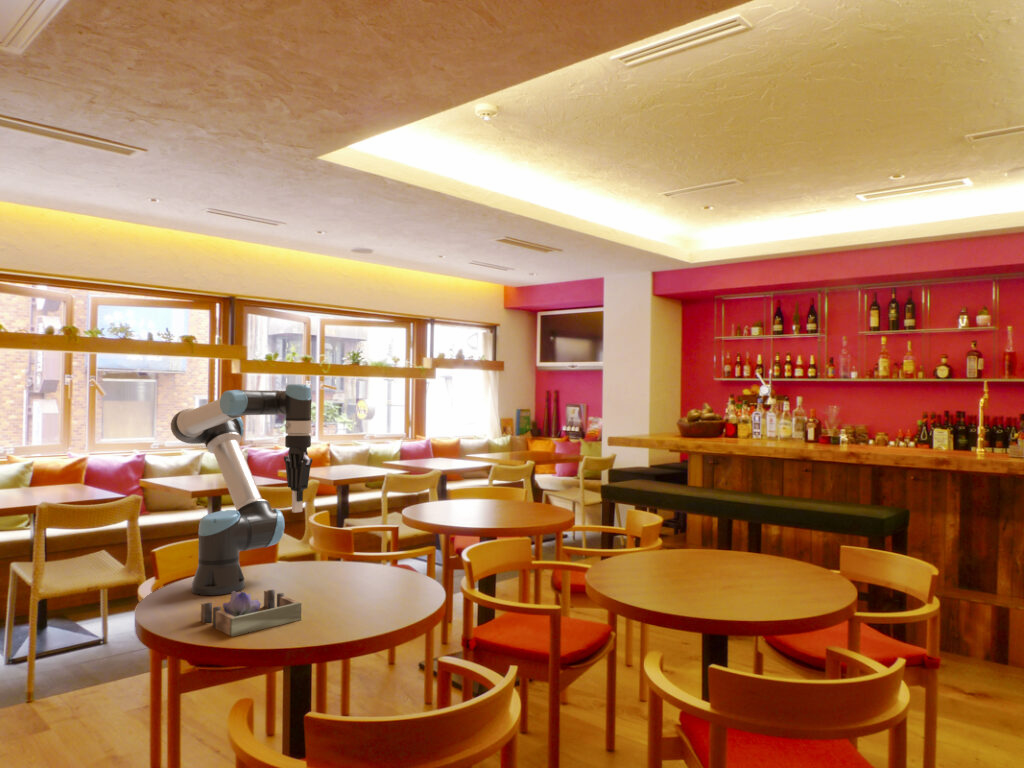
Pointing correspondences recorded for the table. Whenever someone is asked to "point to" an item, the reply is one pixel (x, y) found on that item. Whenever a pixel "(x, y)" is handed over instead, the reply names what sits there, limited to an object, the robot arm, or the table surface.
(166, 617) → the table surface
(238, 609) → the flower
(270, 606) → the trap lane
